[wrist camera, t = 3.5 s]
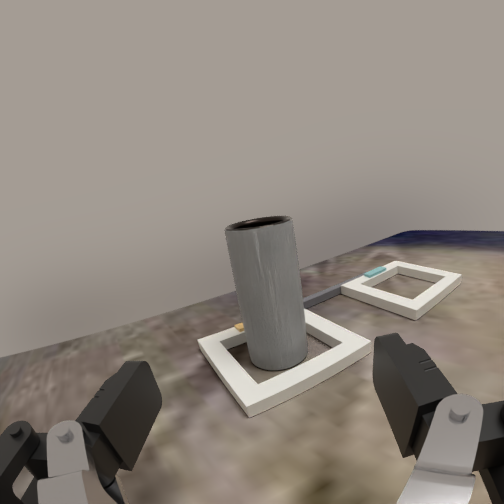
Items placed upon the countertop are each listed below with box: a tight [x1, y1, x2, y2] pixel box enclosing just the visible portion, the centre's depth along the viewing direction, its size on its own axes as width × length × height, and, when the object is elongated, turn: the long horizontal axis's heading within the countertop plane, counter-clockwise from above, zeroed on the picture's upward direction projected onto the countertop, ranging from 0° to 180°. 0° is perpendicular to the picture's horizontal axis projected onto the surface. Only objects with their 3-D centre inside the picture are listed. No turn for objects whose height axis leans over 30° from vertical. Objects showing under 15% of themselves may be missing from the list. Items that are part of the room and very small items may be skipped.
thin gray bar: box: [303, 272, 367, 309], centre depth 30 cm, size 16×1×1 cm, turn 116°
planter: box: [225, 216, 308, 370], centre depth 20 cm, size 4×4×10 cm
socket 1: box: [198, 309, 371, 418], centre depth 21 cm, size 10×10×1 cm
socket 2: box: [341, 261, 462, 320], centre depth 28 cm, size 10×10×1 cm
